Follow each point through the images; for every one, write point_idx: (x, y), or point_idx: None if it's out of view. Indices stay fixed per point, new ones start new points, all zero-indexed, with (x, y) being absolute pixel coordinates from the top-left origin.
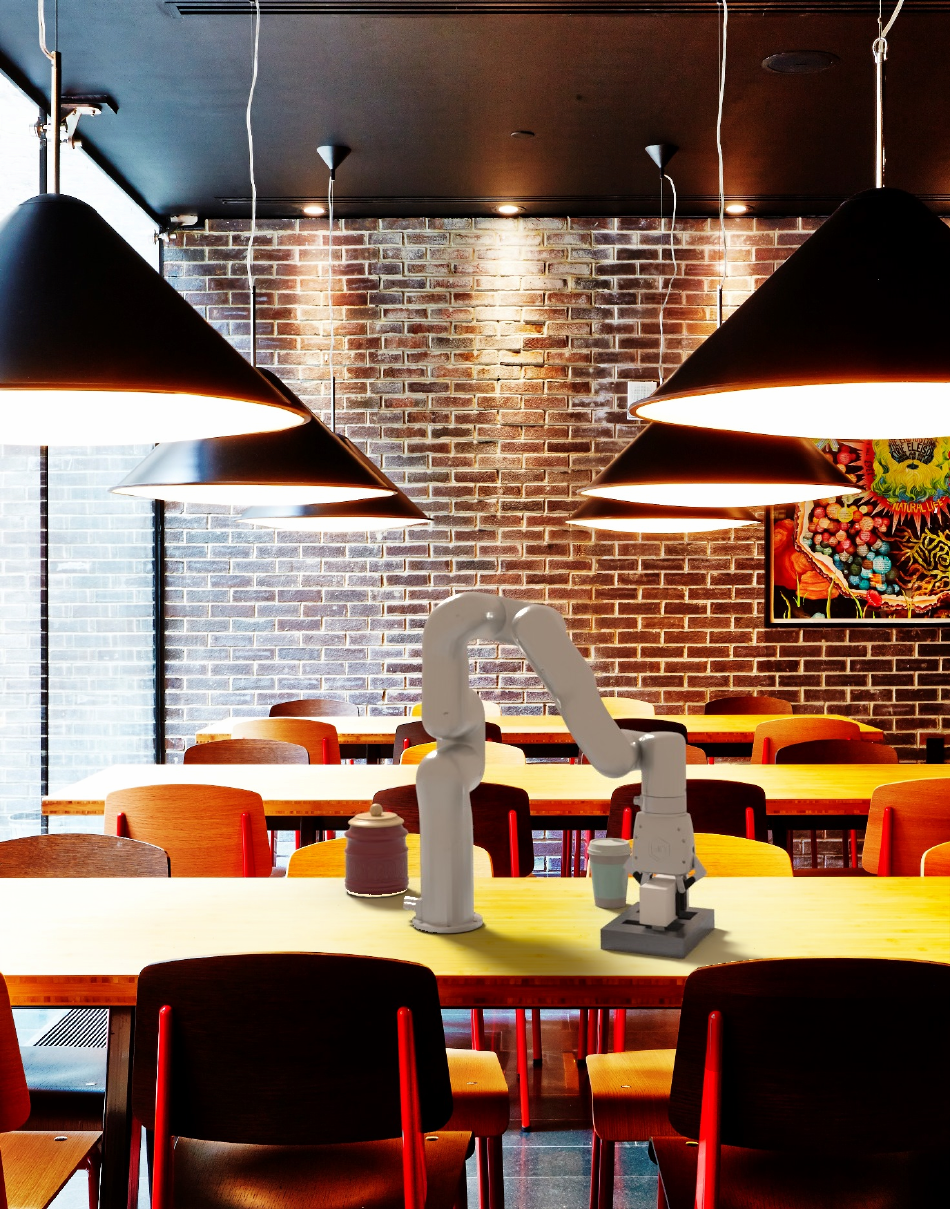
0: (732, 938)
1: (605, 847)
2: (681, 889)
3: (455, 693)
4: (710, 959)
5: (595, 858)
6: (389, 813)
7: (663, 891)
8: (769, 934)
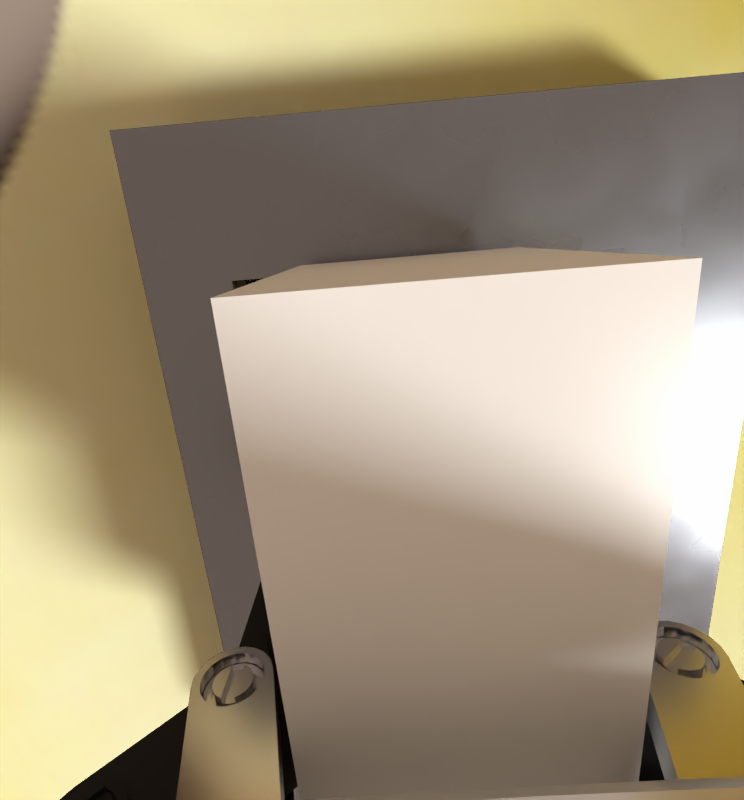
0: (135, 611)
1: None
2: (238, 683)
3: None
4: (44, 227)
5: None
6: None
7: (259, 289)
8: (33, 722)
